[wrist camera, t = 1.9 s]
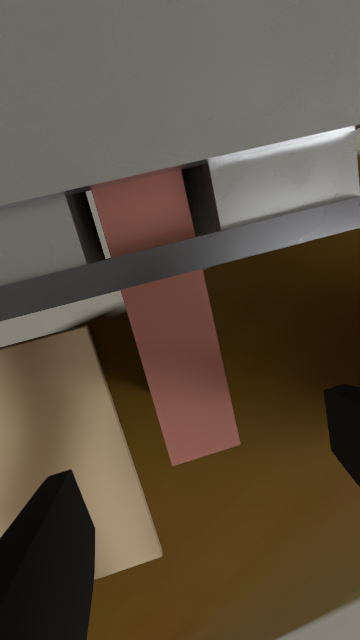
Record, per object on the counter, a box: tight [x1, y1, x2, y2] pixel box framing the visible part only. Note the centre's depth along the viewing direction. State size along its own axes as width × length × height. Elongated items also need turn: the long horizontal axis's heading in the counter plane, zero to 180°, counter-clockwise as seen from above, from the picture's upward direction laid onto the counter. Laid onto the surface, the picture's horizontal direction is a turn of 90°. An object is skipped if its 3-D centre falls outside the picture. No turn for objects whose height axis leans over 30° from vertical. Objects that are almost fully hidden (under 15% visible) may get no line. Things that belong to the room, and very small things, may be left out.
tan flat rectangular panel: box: [0, 324, 162, 580], centre depth 16 cm, size 8×14×1 cm, turn 13°
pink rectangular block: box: [91, 170, 241, 466], centre depth 12 cm, size 2×11×6 cm, turn 13°
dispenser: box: [0, 0, 360, 321], centre depth 10 cm, size 12×8×7 cm, turn 103°
